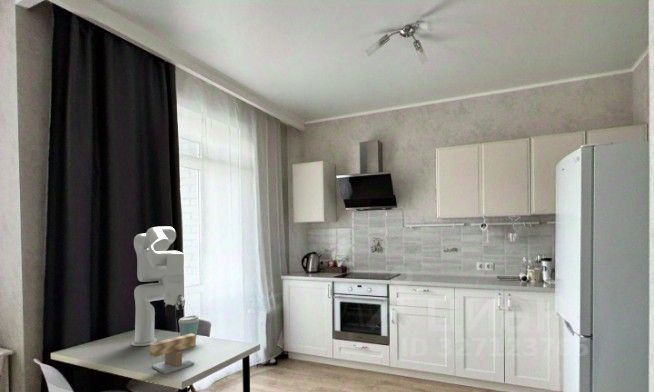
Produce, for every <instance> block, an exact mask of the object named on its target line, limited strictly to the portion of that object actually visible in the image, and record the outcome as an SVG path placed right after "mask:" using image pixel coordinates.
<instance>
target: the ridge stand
mask: <svg viewBox="0 0 654 392" xmlns="http://www.w3.org/2000/svg"><path fill="white" fill-rule="evenodd" d="M164 356H165V357H164V361H162V362H157V363H155V364H154V363H153V364H152V365H151V368H152V369H154V370H157V371H159V372H160V373H162V374H165V375H166V374H169V373H172V372H175V371H179V370H181V369H185V368H189V367H191V366H195V362H194V361H193V360H190V359H187V358H186V357H183V351H182V350H178V351H174V352H171V353H167V354H164Z"/></svg>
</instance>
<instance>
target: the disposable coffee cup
mask: <svg viewBox="0 0 654 392" xmlns="http://www.w3.org/2000/svg"><path fill="white" fill-rule="evenodd" d="M199 321H200V318H199V315H197V314H196V315H188V316H183V318H179V320H178V328H179V334H180V335H179V336H183V335H187V334H191V333H192V334H195V335H196V337H197V336H198V329H199Z"/></svg>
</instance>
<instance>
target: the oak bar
mask: <svg viewBox="0 0 654 392" xmlns="http://www.w3.org/2000/svg"><path fill="white" fill-rule="evenodd" d="M196 340H197V336H196V335H195V334H192V333H191V334H187V335H183V336H180V335H179V336H175V337H171V338H167V339H163V340H159V341H158V340H157V342H154V343H150V345H149V356H150V357H153V358H156V357H159V356H163V355H165V354H167V353H171V352H174V351H178V350H179V351H182V350H184V349H189V348H193V347H195V346H196V343H197V342H196Z"/></svg>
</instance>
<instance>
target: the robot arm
mask: <svg viewBox="0 0 654 392" xmlns="http://www.w3.org/2000/svg"><path fill="white" fill-rule="evenodd" d="M176 238H177V232H176V230H175V228H173V227H172V226H154V227H153V226H152V227H150V228H148V229H147V231H146V232H145V233H138V234H136V236H134V238H133V247H134V250H135V253H136V259H137V269H136V270H137V272H136V275H137V280H138V281H139V282H140V283H141V282H144V283H145V282H155V283H145V284H140V285H137V286H136V287H135V288H134V292H133V295H134V302H135V318H134V319H135V320H134V322H135V324H134V328H135V329H134V340H132V341H131V346H133V347H146V346H150V343H154V342H158V339H157V337H155V315H156V312H155V310H156V309H155V307H154V306H153V304H151V303H150V302H153V301H154V302H155V301H161V300H163V302H164V303H165V304H164V307H165V309H164V310H165V313H164V314H165V316H170V315H173V308H174V307H173V306H175V308H176V310H175V319H177V320H178V319H179V320H180V319H181V318H183V317H184V309H185V305H186V299H185V297H184V296H185V295H184V293H185V290H184V267H185V266H184V265H185V264H184V263H185V262H184V261H185V260H184V259H185V255H184V253H183V252H181V251H178V250H168V249H169V248H170V246H171V245H172V244H173V243H174V242H175V240H176ZM157 281H158V282H157Z"/></svg>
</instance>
